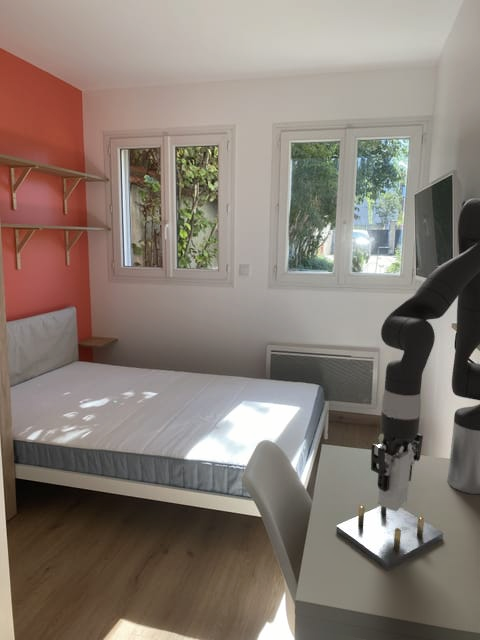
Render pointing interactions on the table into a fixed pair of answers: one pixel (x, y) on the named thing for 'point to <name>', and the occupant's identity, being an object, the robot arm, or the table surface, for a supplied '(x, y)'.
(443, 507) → the table surface
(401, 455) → the skincare box
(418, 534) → the standoff plate
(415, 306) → the robot arm
